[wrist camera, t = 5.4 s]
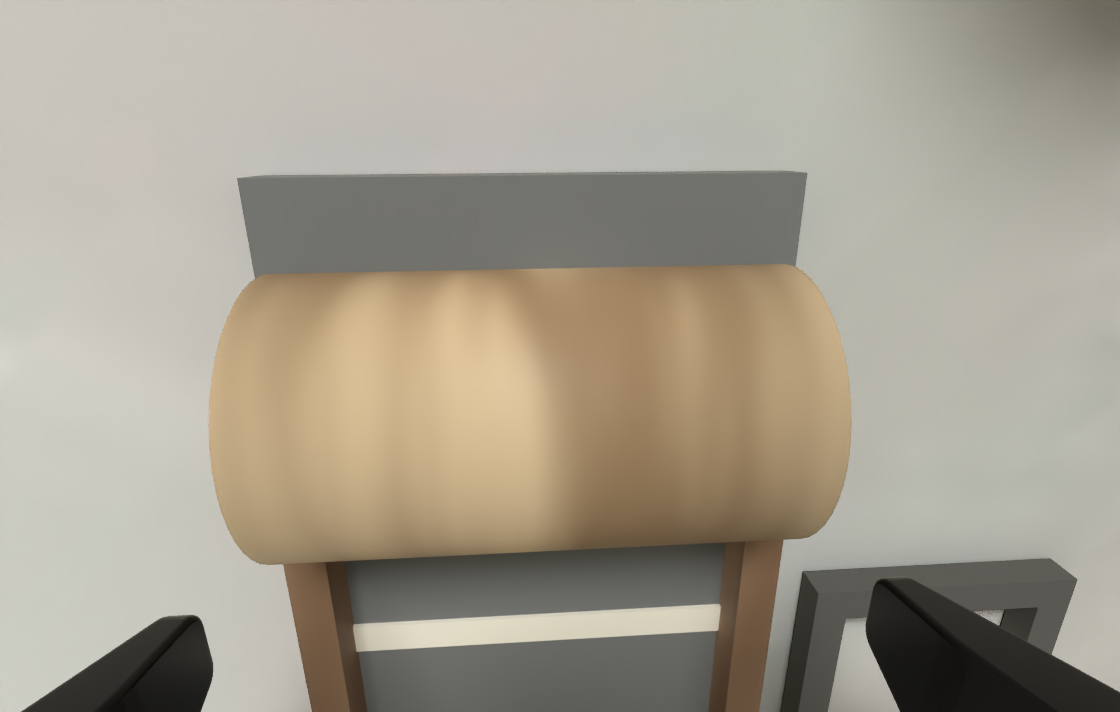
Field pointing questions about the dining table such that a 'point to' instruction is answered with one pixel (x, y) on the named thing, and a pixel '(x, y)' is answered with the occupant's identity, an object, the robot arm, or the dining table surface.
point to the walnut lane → (736, 654)
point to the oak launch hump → (526, 411)
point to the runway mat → (546, 576)
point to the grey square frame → (1015, 585)
